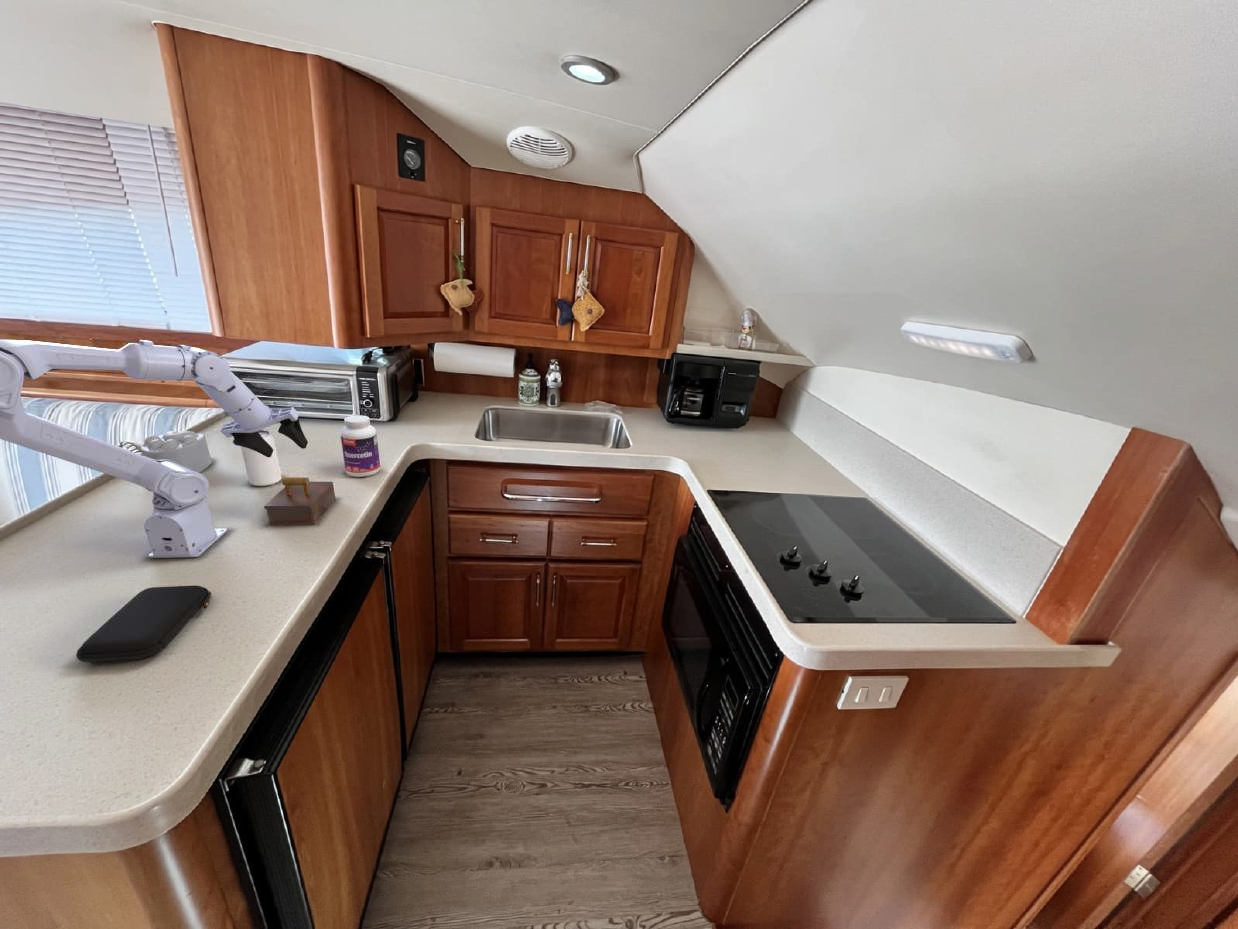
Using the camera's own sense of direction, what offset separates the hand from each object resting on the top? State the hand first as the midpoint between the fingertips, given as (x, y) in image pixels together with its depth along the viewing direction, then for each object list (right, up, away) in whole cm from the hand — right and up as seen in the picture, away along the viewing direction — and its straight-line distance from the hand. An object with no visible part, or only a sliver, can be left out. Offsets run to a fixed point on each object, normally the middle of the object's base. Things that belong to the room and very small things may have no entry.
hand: (288, 449), depth 104 cm
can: (-14, -7, +13) cm, 21 cm away
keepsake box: (+2, -13, +2) cm, 14 cm away
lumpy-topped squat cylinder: (-37, -5, +15) cm, 40 cm away
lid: (+3, -10, 0) cm, 10 cm away
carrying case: (+2, -28, -32) cm, 42 cm away
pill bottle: (+5, -5, +22) cm, 23 cm away
